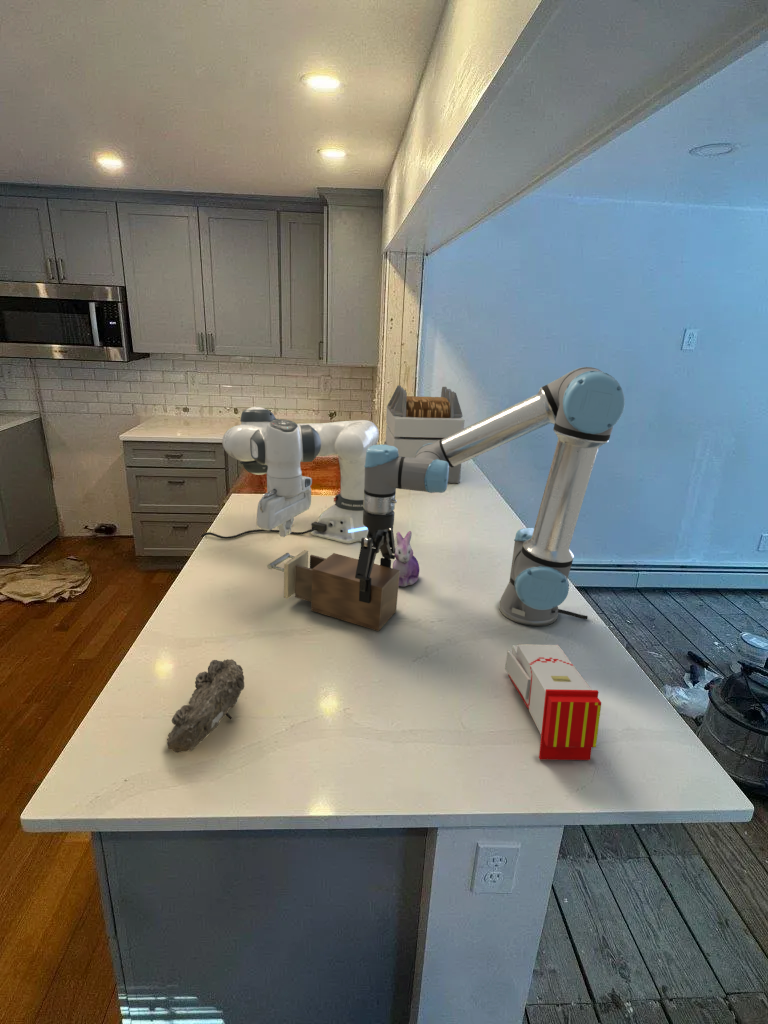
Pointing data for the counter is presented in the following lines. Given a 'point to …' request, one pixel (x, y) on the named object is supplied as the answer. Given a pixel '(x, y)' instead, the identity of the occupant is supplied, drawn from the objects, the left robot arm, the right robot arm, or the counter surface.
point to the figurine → (405, 561)
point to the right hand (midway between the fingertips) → (374, 591)
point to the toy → (556, 700)
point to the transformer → (422, 423)
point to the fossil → (206, 705)
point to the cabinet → (354, 592)
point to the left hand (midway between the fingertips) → (285, 535)
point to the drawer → (297, 574)
